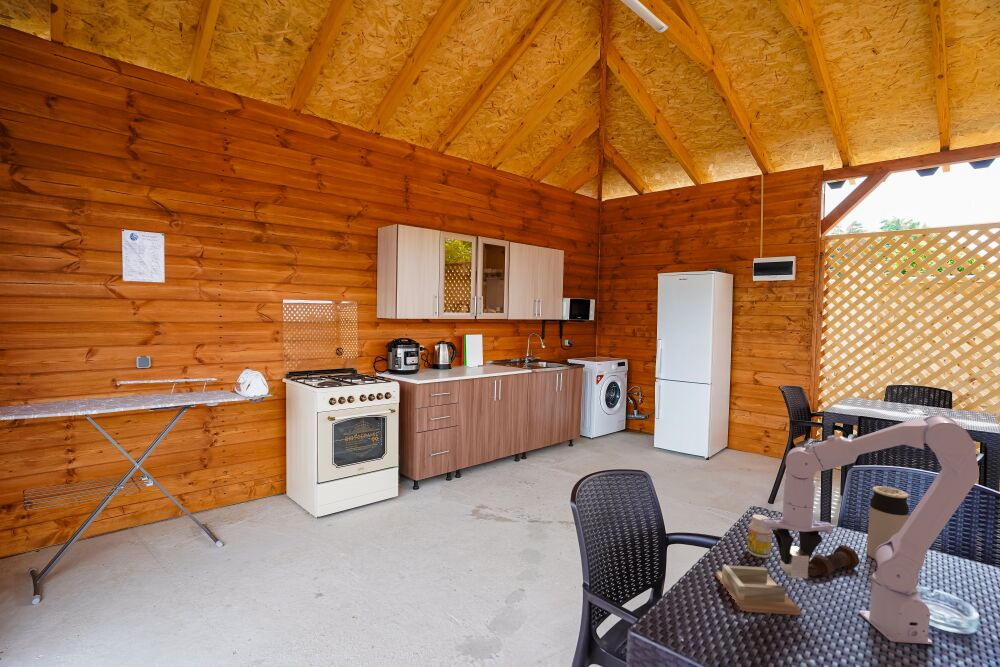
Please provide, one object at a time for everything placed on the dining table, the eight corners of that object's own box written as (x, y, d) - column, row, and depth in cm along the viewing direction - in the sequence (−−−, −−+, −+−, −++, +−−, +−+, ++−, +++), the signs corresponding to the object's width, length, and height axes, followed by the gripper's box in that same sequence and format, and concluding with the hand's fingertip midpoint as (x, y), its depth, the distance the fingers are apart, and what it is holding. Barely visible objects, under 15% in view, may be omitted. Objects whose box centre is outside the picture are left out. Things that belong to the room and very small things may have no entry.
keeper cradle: (800, 614, 105) (801, 596, 104) (741, 611, 105) (743, 592, 105) (767, 578, 119) (768, 562, 118) (716, 575, 119) (717, 559, 119)
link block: (807, 578, 109) (808, 556, 109) (790, 577, 109) (792, 555, 109) (795, 567, 113) (797, 546, 113) (780, 566, 114) (781, 545, 113)
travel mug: (859, 553, 133) (864, 487, 132) (879, 549, 136) (884, 484, 135) (891, 568, 126) (897, 498, 125) (911, 563, 129) (917, 494, 128)
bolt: (805, 583, 121) (844, 569, 127) (824, 582, 117) (863, 568, 123) (795, 557, 123) (834, 545, 130) (813, 555, 119) (852, 543, 125)
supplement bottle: (771, 560, 128) (774, 523, 127) (748, 555, 130) (750, 519, 129) (768, 550, 133) (770, 515, 133) (746, 546, 135) (748, 511, 134)
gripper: (821, 497, 114) (816, 555, 115) (756, 494, 115) (752, 551, 115) (840, 510, 107) (836, 571, 108) (771, 506, 108) (767, 567, 108)
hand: (794, 562), depth 111 cm, fingers closed on link block, 3 cm apart
